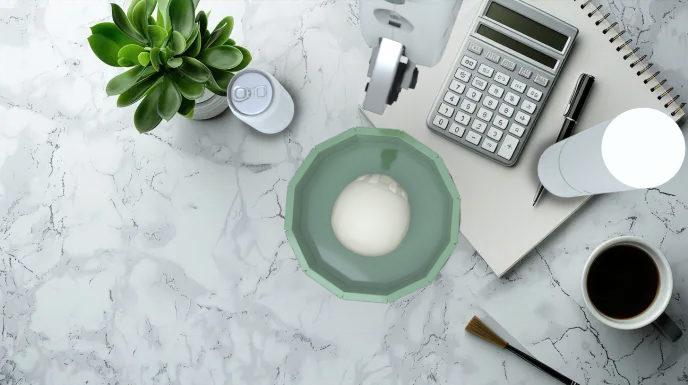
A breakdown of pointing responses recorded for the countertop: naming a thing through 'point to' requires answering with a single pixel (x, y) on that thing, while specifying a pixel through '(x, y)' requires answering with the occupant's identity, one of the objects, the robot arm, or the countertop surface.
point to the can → (260, 100)
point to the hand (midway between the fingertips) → (417, 13)
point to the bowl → (425, 204)
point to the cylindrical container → (615, 155)
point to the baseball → (371, 215)
